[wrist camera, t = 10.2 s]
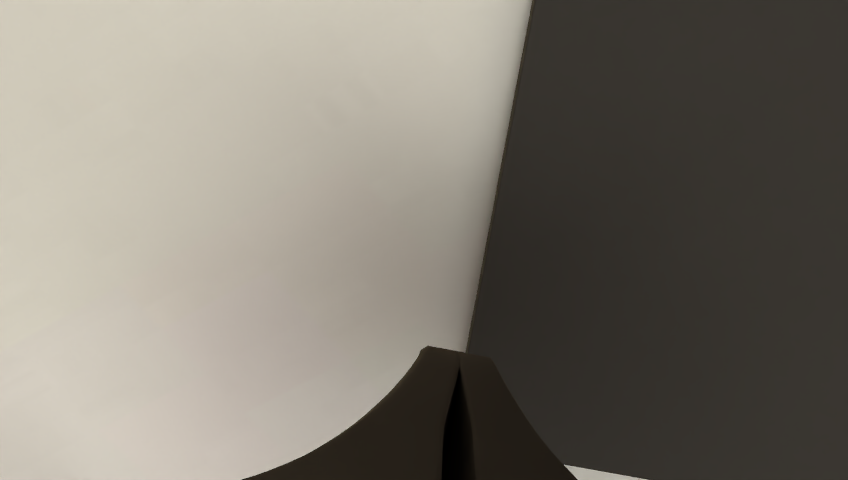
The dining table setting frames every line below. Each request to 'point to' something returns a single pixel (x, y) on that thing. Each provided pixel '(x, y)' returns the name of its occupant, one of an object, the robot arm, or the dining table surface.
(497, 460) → the robot arm
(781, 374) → the mat
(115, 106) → the dining table surface
